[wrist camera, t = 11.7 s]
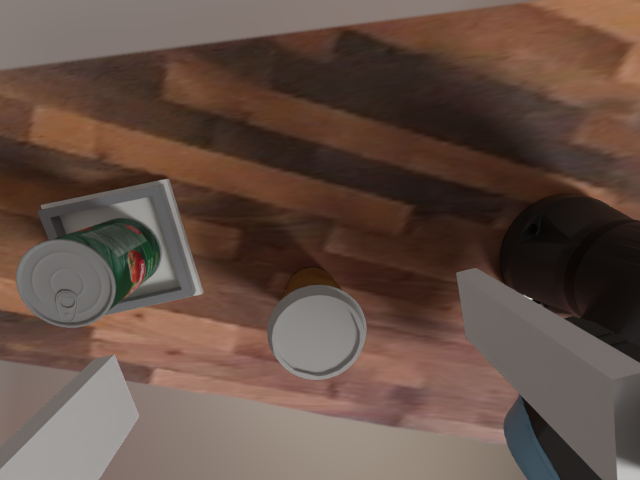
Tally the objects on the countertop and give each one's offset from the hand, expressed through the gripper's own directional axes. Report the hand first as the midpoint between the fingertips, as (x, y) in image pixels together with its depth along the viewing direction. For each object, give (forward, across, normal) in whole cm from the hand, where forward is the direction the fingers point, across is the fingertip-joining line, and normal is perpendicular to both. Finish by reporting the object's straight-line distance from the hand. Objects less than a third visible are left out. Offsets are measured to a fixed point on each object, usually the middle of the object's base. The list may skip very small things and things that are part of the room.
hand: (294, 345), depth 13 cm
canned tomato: (+28, +20, -2) cm, 34 cm away
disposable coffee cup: (+29, +1, +9) cm, 31 cm away
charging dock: (+29, +20, -2) cm, 35 cm away
